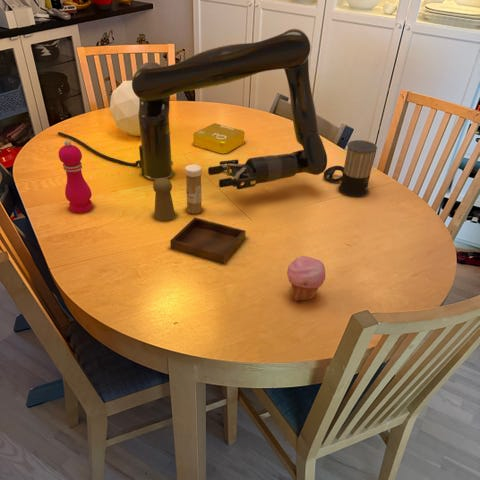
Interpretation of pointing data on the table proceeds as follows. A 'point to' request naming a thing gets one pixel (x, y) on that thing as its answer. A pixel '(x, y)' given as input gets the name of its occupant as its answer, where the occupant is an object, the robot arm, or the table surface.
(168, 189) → the olive chess pawn
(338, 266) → the table surface
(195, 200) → the sprinkles bottle
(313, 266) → the cupcake
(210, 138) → the element tile
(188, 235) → the tray
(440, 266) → the table surface
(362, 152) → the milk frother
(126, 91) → the ball
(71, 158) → the pepper mill
